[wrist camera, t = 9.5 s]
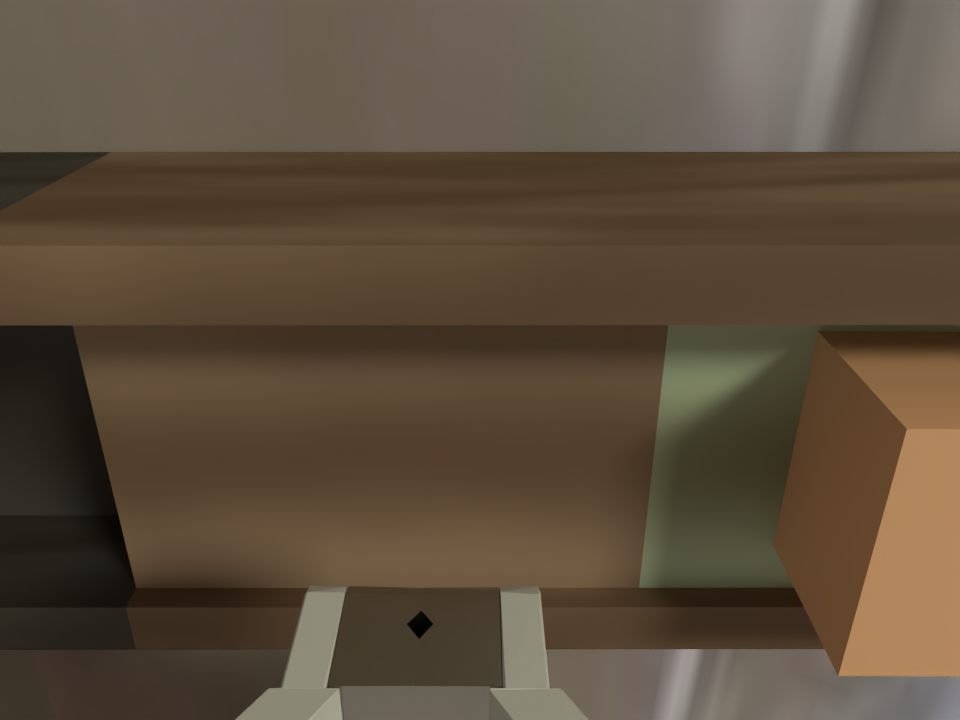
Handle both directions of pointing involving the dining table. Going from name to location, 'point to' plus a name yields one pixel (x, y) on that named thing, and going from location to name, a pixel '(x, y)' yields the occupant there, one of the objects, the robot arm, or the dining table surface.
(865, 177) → the box
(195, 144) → the dining table surface
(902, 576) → the terracotta block
